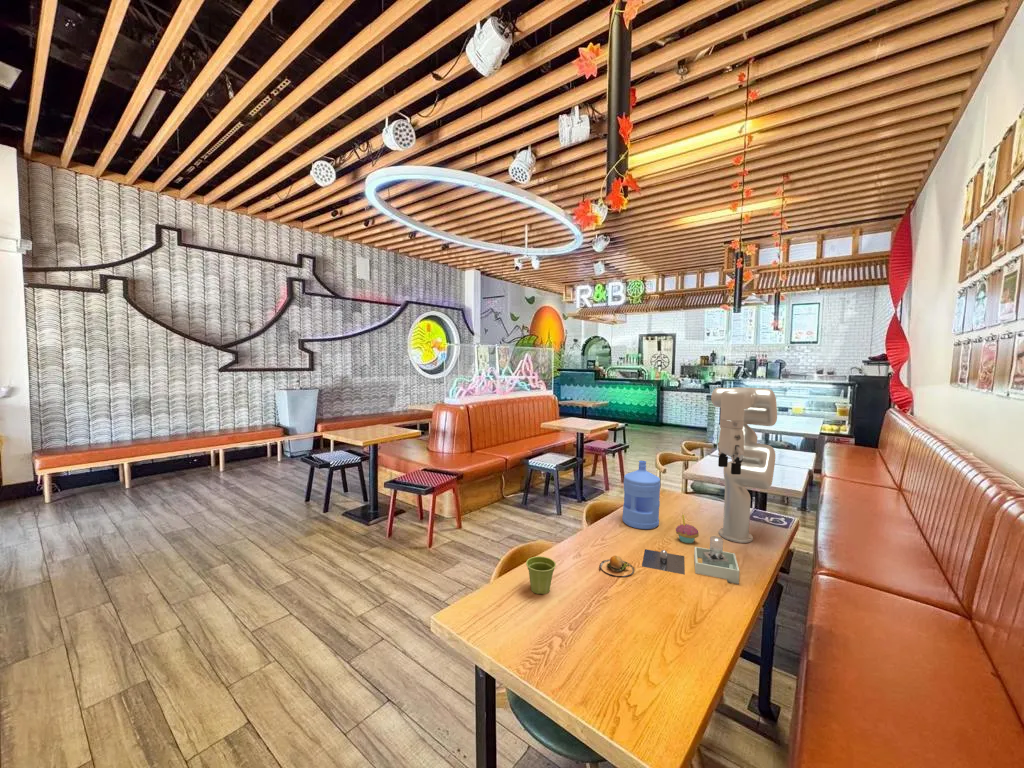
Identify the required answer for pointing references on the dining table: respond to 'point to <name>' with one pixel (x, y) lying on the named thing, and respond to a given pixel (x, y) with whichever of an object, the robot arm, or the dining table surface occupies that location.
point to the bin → (717, 567)
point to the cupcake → (686, 532)
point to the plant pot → (540, 573)
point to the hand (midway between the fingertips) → (729, 470)
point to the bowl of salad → (616, 565)
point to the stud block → (664, 561)
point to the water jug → (641, 498)
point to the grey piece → (715, 553)
